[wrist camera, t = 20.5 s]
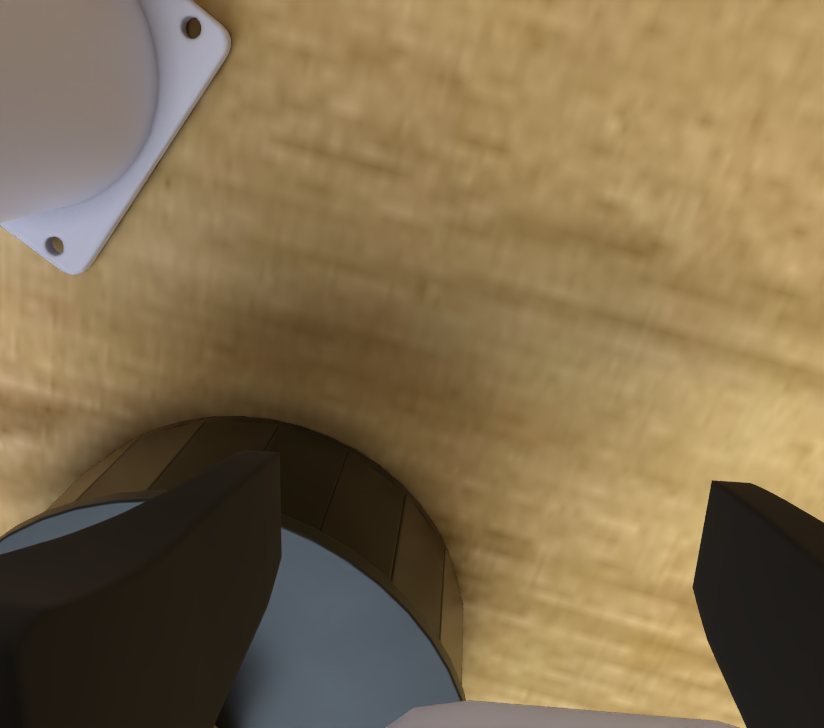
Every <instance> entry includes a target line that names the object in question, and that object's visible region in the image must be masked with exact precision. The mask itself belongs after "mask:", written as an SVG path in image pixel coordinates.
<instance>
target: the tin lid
mask: <svg viewBox="0 0 824 728" xmlns="http://www.w3.org/2000/svg"><path fill="white" fill-rule="evenodd" d="M164 492H166V490H153V491H132V492H119V493H113V494H108V495H102V496H96V497H91V498H85V499H81V500H78V501H75V502H72V503H69V504H66V505H62V506H59V507H56V508H53V509H50V510H47V511H45V512H43V513H41V514H39V515H37V516H35V517H33V518H31V519H29V520H27V521H25V522H23V523H21V524H19V525H17V526H15V527H14V528H13V529H11V530H10V531H8V532H7V533H5V534H4V535H2V536H1V537H0V554H4V553H8V552H11V551H15V550H18V549H21V548H25V547H28V546H31V545H35V544H38V543H42V542H45V541H48V540H52V539H55V538H59V537H62V536H65V535H68V534H70V533H73V532H76V531H78V530H81V529H84V528H86V527H89V526H92V525H94V524H97V523H100V522H102V521H104V520H107V519H109V518H112V517H114V516H116V515H119V514H121V513H123V512H125V511H127V510H129V509H131V508H133V507H135V506H137V505H140V504H142V503H144V502H146V501H148V500H150V499H152V498H154V497H156V496H158V495H160V494H162V493H164ZM281 544H282V558H281V562H280V565H279V569H278V573H277V576H276V580H275V583H274V587H273V590H272V593H271V597H270V600H269V603H268V606H267V609H266V611H265V613H264V616H263V618H262V620H261V623H260V625H259V627H258V629H257V631H256V634H255V636H254V638H253V640H252V643H251V645H250V647H249V649H248V651H247V654H246V656H245V658H244V660H243V662H242V665H241V667H240V669H239V671H238V673H237V676H236V678H235V680H234V682H233V684H232V686H231V689H230V691H229V693H228V695H227V697H226V700H225V702H224V704H223V706H222V708H221V711H220V713H219V715H218V718H217V720H216V723H215V725H214V728H385V727H387V726H388V725H389V724H391V723H392V722H394V721H395V720H397V719H398V718H400V717H401V716H402V715H404V714H405V713H407V712H408V711H410V710H411V709H413V708H415V707H423V706H430V705H438V704H446V703H453V702H461V701H466V699H465V695H464V691H463V687H462V685H461V683H460V680H459V678H458V675H457V673H456V671H455V668H454V666H453V663H452V661H451V659H450V657H449V655H448V653H447V652H446V650H445V648H444V647H443V645H442V643H441V642H440V640H439V638H438V637H437V635H436V633H435V632H434V630H433V628H432V627H431V626H430V624H429V623H428V622H427V621H426V619H425V618H424V617H423V616H422V614H421V613H420V612H419V611H418V609H417V608H416V607H415V606H414V604H413V603H412V602H411V601H410V599H409V598H408V597H407V596H406V595H405V594H404V593H402V592H401V591H400V590H399V589H398V588H397V587H396V586H395V585H394V584H393V583H392V582H391V581H390V580H389V579H388V578H387V577H386V576H385V575H384V574H383V573H382V572H380V571H379V570H378V569H376V568H375V567H374V566H372V565H371V564H370V563H368V562H367V561H366V560H364V559H363V558H362V557H361V556H359V555H358V554H357V553H355V552H354V551H353V550H351V549H350V548H348V547H346V546H344V545H343V544H341V543H339V542H338V541H336V540H334V539H333V538H331V537H329V536H327V535H326V534H324V533H322V532H321V531H319V530H317V529H315V528H313V527H311V526H308V525H306V524H304V523H301V522H299V521H297V520H295V519H292V518H290V517H288V516H286V515H283V514H281Z"/></svg>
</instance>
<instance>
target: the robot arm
mask: <svg viewBox="0 0 824 728" xmlns="http://www.w3.org/2000/svg"><path fill="white" fill-rule="evenodd" d="M191 18H197V19H198V21H199V22H200V23H201V29H202V30H201V33H200V35H199V36H198V37H197V38H196V39H191V38H190V37H189V35H188V34H187V31H186V25H187V22H188V21H189V20H190V19H191ZM230 49H231V38H230V35H229V33H228V31H227V30H226V28H225V27H224V26H223V25H222V24H221V23H219V22H218V21H217V20H216V19H215V18H213V17H212V16H211V15H210V14H208V13H207V12H206V11H205V10H204V9H202V8H201V7H200V6H199V5H197V4H196V3H195V2H194V1H193V0H0V226H1V227H3V228H4V229H5V230H7V231H8V232H10V233H11V234H12V235H14V236H15V237H16V238H18V239H19V240H20V241H22V242H23V243H24V244H26V245H27V246H29V247H30V248H31V249H33V250H34V251H35V252H37V253H38V254H39V255H41V256H42V257H43V258H45V259H46V260H48V261H49V262H50V263H52V264H53V265H54V266H56V267H57V268H58V269H60V270H61V271H63V272H65V273H67V274H71V275H77V274H80V273H82V272H85V271H87V270H88V269H89V268H90V267H91V266H92V264H93V263H94V261H95V259H96V258H97V256H98V255H99V253H100V252H101V250H102V249H103V247H104V246H105V244H106V242H107V241H108V239H109V238H110V236H111V235H112V233H113V232H114V230H115V229H116V227H117V226H118V224H119V222H120V221H121V219H122V218H123V216H124V215H125V213H126V212H127V210H128V209H129V207H130V206H131V204H132V202H133V201H134V199H135V198H136V196H137V195H138V193H139V192H140V190H141V189H142V187H143V186H144V184H145V182H146V181H147V179H148V178H149V176H150V175H151V173H152V172H153V170H154V169H155V167H156V165H157V164H158V162H159V161H160V159H161V158H162V156H163V155H164V153H165V152H166V150H167V149H168V147H169V145H170V144H171V142H172V141H173V139H174V138H175V136H176V135H177V133H178V132H179V130H180V129H181V127H182V125H183V124H184V122H185V121H186V119H187V118H188V116H189V115H190V113H191V112H192V110H193V108H194V107H195V105H196V104H197V102H198V101H199V99H200V98H201V96H202V95H203V93H204V92H205V90H206V88H207V87H208V85H209V84H210V82H211V81H212V79H213V78H214V76H215V75H216V73H217V72H218V70H219V68H220V67H221V65H222V64H223V62H224V61H225V59H226V58H227V56H228V54H229V52H230ZM54 237H57V238H59V239H60V240H61V241H62V242H63V246H64V249H63V252H62V253H60V252H58V251H56V249H55V248H54V247H53V243H52V241H53V238H54ZM281 558H282V544H281V492H280V452H269V451H254V450H243V451H240V452H238V453H236V454H234V455H232V456H230V457H228V458H226V459H224V460H222V461H220V462H218V463H217V464H215V465H213V466H211V467H210V468H208V469H206V470H204V471H202V472H201V473H199V474H197V475H195V476H193V477H192V478H190V479H188V480H186V481H184V482H183V483H181V484H179V485H177V486H175V487H174V488H172V489H170V490H168V491H166V492H164V493H162V494H160V495H158V496H156V497H154V498H152V499H150V500H148V501H146V502H144V503H142V504H140V505H137V506H135V507H133V508H131V509H129V510H127V511H125V512H123V513H121V514H119V515H116V516H114V517H112V518H109V519H107V520H104V521H102V522H100V523H97V524H94V525H92V526H89V527H86V528H84V529H81V530H78V531H76V532H73V533H70V534H68V535H65V536H62V537H59V538H55V539H52V540H48V541H45V542H42V543H38V544H35V545H31V546H28V547H25V548H21V549H18V550H15V551H11V552H8V553H4V554H0V728H214V725H215V723H216V720H217V718H218V715H219V713H220V711H221V708H222V706H223V704H224V702H225V700H226V697H227V695H228V693H229V691H230V689H231V686H232V684H233V682H234V680H235V678H236V676H237V673H238V671H239V669H240V667H241V665H242V662H243V660H244V658H245V656H246V654H247V651H248V649H249V647H250V645H251V643H252V640H253V638H254V636H255V634H256V631H257V629H258V627H259V625H260V623H261V620H262V618H263V616H264V613H265V611H266V609H267V606H268V603H269V600H270V597H271V593H272V590H273V587H274V583H275V580H276V576H277V573H278V569H279V565H280V562H281ZM693 590H694V594H695V598H696V602H697V606H698V609H699V613H700V617H701V620H702V624H703V627H704V630H705V633H706V637H707V640H708V642H709V645H710V647H711V649H712V652H713V654H714V656H715V659H716V661H717V663H718V665H719V668H720V670H721V672H722V674H723V676H724V679H725V681H726V683H727V685H728V688H729V690H730V692H731V694H732V696H733V698H734V701H735V703H736V705H737V707H738V709H739V712H740V714H741V716H742V718H743V720H744V722H745V725H746V727H747V728H824V523H823V522H822V521H820V520H818V519H817V518H815V517H813V516H811V515H810V514H808V513H806V512H805V511H803V510H801V509H799V508H798V507H796V506H794V505H793V504H791V503H789V502H787V501H786V500H784V499H782V498H780V497H778V496H776V495H775V494H773V493H771V492H769V491H767V490H765V489H763V488H761V487H759V486H756V485H754V484H751V483H741V482H726V481H712V483H711V489H710V494H709V500H708V505H707V511H706V516H705V522H704V527H703V533H702V539H701V544H700V550H699V555H698V561H697V566H696V572H695V577H694V583H693ZM385 728H739V727H736V726H733V725H729V724H726V723H723V722H720V721H713V720H701V719H689V718H677V717H665V716H653V715H640V714H628V713H616V712H604V711H592V710H580V709H568V708H556V707H544V706H532V705H520V704H508V703H496V702H484V701H471V700H469V701H461V702H453V703H446V704H438V705H430V706H423V707H415V708H413V709H411V710H410V711H408V712H407V713H405V714H404V715H402V716H401V717H400V718H398V719H397V720H395V721H394V722H392V723H391V724H389V725H388V726H387V727H385Z"/></svg>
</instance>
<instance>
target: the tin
mask: <svg viewBox="0 0 824 728" xmlns="http://www.w3.org/2000/svg"><path fill="white" fill-rule="evenodd" d="M243 450H254V451H269V452H280V492H281V514H283V515H286V516H288V517H290V518H292V519H295V520H297V521H299V522H301V523H304V524H306V525H308V526H311V527H313V528H315V529H317V530H319V531H321V532H322V533H324V534H326V535H327V536H329V537H331V538H333V539H334V540H336V541H338V542H339V543H341V544H343V545H344V546H346V547H348V548H350V549H351V550H353V551H354V552H355V553H357V554H358V555H359V556H361V557H362V558H363V559H364V560H366V561H367V562H368V563H370V564H371V565H372V566H374V567H375V568H376V569H378V570H379V571H380V572H382V573H383V574H384V575H385V576H386V577H387V578H388V579H389V580H390V581H391V582H392V583H393V584H394V585H395V586H396V587H397V588H398V589H399V590H400V591H401V592H402V593H404V594H405V595H406V596H407V597H408V598H409V599H410V601H411V602H412V603H413V604H414V606H415V607H416V608H417V609H418V611H419V612H420V613H421V614H422V616H423V617H424V618H425V619H426V621H427V622H428V623H429V624H430V626H431V627H432V628H433V630H434V632H435V633H436V635H437V637H438V638H439V640H440V642H441V643H442V645H443V647H444V648H445V650H446V652H447V653H448V655H449V657H450V659H451V661H452V663H453V666H454V668H455V671H456V673H457V675H458V678H459V680H460V683H461V685H462V643H463V603H462V600H461V596H460V592H459V586H458V581H457V576H456V572H455V569H454V566H453V563H452V561H451V558H450V555H449V552H448V549H447V547H446V545H445V543H444V542H443V540H442V538H441V536H440V534H439V532H438V530H437V528H436V526H435V525H434V523H433V522H432V520H431V519H430V518H429V516H428V515H427V513H426V512H425V511H424V509H423V508H422V506H421V505H420V504H419V503H418V501H417V500H416V499H415V498H414V497H413V496H412V495H411V494H410V493H409V492H408V491H407V489H406V488H405V487H404V486H403V485H402V484H401V483H400V482H399V481H397V480H396V479H395V478H394V477H393V476H392V475H390V474H389V473H388V472H387V471H386V470H384V469H383V468H382V467H381V466H380V465H378V464H377V463H375V462H374V461H372V460H371V459H369V458H368V457H366V456H365V455H363V454H362V453H360V452H358V451H357V450H355V449H354V448H352V447H350V446H348V445H346V444H344V443H342V442H340V441H338V440H336V439H334V438H331V437H329V436H327V435H324V434H322V433H319V432H316V431H313V430H310V429H308V428H305V427H302V426H299V425H294V424H290V423H285V422H281V421H277V420H272V419H264V418H254V417H245V416H224V417H207V418H200V419H193V420H187V421H182V422H178V423H175V424H171V425H168V426H164V427H161V428H157V429H155V430H153V431H151V432H148V433H146V434H144V435H142V436H139V437H137V438H135V439H133V440H131V441H130V442H128V443H126V444H125V445H123V446H122V447H120V448H118V449H117V450H115V451H114V452H112V453H111V454H110V455H108V456H107V457H106V458H105V459H104V460H102V461H101V462H99V463H97V464H96V465H94V466H93V467H91V468H90V469H89V470H88V471H86V472H85V473H84V474H83V475H82V476H81V477H80V478H79V479H78V480H77V481H76V482H75V483H74V484H73V485H72V486H71V487H70V488H69V489H68V490H67V491H65V492H64V493H63V494H62V495H61V496H60V497H59V498H58V499H57V500H56V501H55V502H54V503H53V504H52V505H51V506H50V507H49V508H48V509H47V510H50V509H53V508H56V507H59V506H62V505H66V504H69V503H72V502H75V501H78V500H81V499H85V498H91V497H96V496H102V495H108V494H113V493H119V492H132V491H153V490H166V491H168V490H170V489H172V488H174V487H175V486H177V485H179V484H181V483H183V482H184V481H186V480H188V479H190V478H192V477H193V476H195V475H197V474H199V473H201V472H202V471H204V470H206V469H208V468H210V467H211V466H213V465H215V464H217V463H218V462H220V461H222V460H224V459H226V458H228V457H230V456H232V455H234V454H236V453H238V452H240V451H243ZM47 510H46V511H47ZM44 512H45V511H44Z"/></svg>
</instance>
